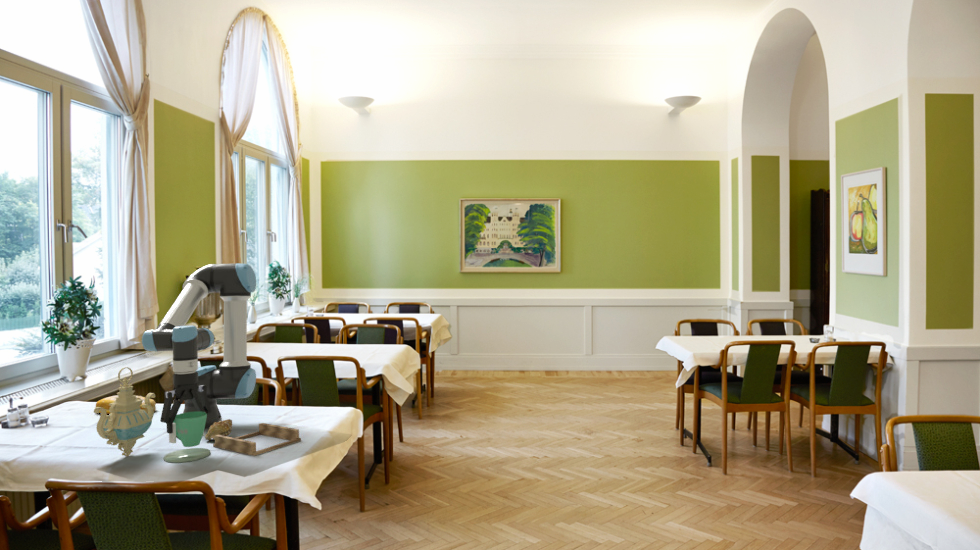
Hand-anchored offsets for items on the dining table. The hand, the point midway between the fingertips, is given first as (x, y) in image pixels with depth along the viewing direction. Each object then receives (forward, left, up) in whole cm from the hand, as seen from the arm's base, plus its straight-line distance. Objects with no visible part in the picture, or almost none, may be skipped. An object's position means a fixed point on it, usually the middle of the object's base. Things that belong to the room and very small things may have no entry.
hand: (186, 438), depth 205 cm
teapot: (-18, -10, -6) cm, 21 cm away
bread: (-81, +23, -6) cm, 84 cm away
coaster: (0, 0, -6) cm, 6 cm away
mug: (0, 0, -2) cm, 2 cm away
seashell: (-9, +17, -7) cm, 20 cm away
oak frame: (+9, +21, -6) cm, 24 cm away
